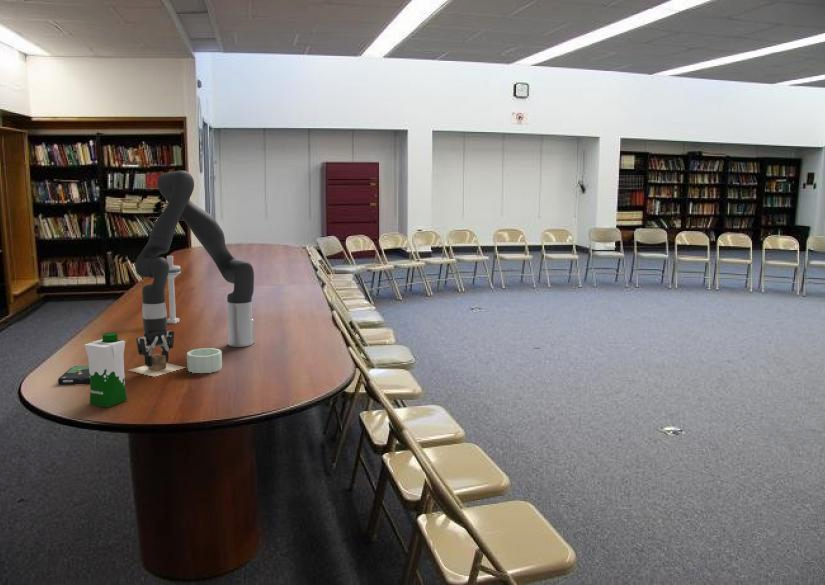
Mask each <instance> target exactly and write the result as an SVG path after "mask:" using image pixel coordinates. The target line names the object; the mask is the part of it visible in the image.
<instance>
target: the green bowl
mask: <svg viewBox="0 0 825 585" xmlns="http://www.w3.org/2000/svg"><path fill="white" fill-rule="evenodd" d="M222 356H223V351H222V350H221V349H219V348H215V347H214V348H213V347H212V348H209V347H206V348H205V347H204V348H195V349H192V350H189V351H188V352H187V353H186V365H187V366H186V368H187V371H189V372H188V373H190V372H192V373H191V374H194V373H209V374H213V373H212V372H214V373H217V371H218V372H220V371H221V370H222V367H223V357H222ZM219 370H220V371H219Z"/></svg>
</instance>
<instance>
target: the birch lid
mask: <svg viewBox="0 0 825 585" xmlns="http://www.w3.org/2000/svg"><path fill="white" fill-rule="evenodd" d="M151 356H152V366H151V367H148V366H146V365H142V366H139V367H134V368H130V369H128V372H129V371H132V372H131V373H133V372H136V373H135V374H137V373H140V374H139V375H141V374H144V375H143V376H145V375H148V376H147V377H149V376H153V377H155V376H159V375H162V374H165V375H167V374H166V373H169V372H172V373H174V372H173V371H175V372H177V371H176V370H179V371H181V370H180V369H182V370H184V369H183V368H187V366H186V367H185V366H180V365H177V364H171V363H168V362H166V356H165V355H162V353H161V354H160V353H156V354H151ZM169 374H170V373H169ZM162 376H163V375H162ZM153 377H152V378H153ZM159 377H160V376H159ZM155 378H156V377H155Z"/></svg>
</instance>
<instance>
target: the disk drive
mask: <svg viewBox="0 0 825 585" xmlns="http://www.w3.org/2000/svg"><path fill="white" fill-rule="evenodd" d="M57 382H58V383H57V384H58V386H75V384H86V385H90V375H89V365H74V366H72V367H70V368H69V369H67V371H66V372H64V373H63V374H62V375H61V376H59V377H58V379H57Z"/></svg>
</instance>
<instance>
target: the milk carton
mask: <svg viewBox="0 0 825 585" xmlns="http://www.w3.org/2000/svg"><path fill="white" fill-rule="evenodd" d="M118 335H119V334H118V332H105V333H102V336H101V337H102V339H98V340H93V341H91V342H89V343H86V344H84V349H85V352H86V354H87V360H88V366H89V375H90V384H89V385H90V386H89V389H90V391H89V405H91V406H96V407H97V406H98V407H103V408H108V409H109V408H111V406H112V407H115V406H116V404H117V405H119V404H122V403H124V402H126V400H127V401H128V397H127V396H128V395H127V390H126V381H125V363H124V354H125V345H126V341H125V340H122V339H119V336H118ZM123 401H124V402H123ZM121 402H122V403H121ZM118 403H119V404H118Z"/></svg>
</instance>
